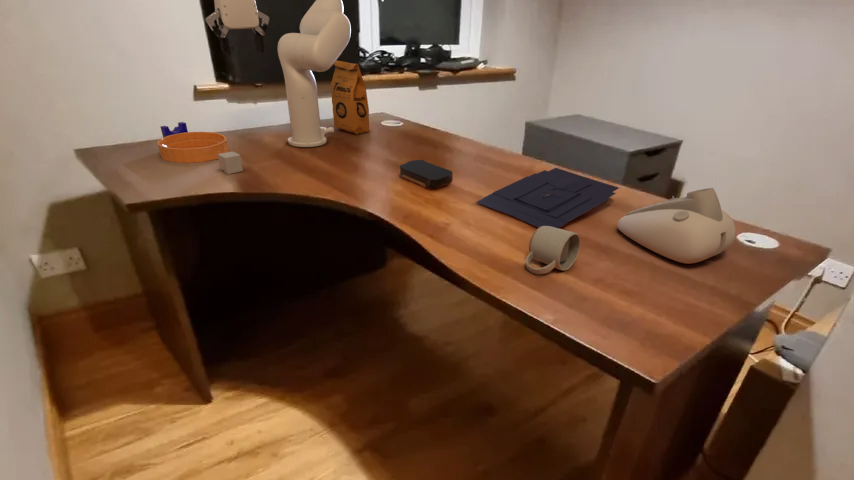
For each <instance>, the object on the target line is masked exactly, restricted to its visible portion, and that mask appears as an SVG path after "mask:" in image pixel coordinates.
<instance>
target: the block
mask: <svg viewBox="0 0 854 480" xmlns="http://www.w3.org/2000/svg"><path fill="white" fill-rule="evenodd" d="M218 163H219V167H220V169H221V170H222V172H223V173H225V174H227V175H230V174H231V175H232V174H236V173H240V172H243V171H244V169H243V163H242V157H241V155H240V154H239V153H237V152H235V151H229V152H227V153H221V154H218Z"/></svg>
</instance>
